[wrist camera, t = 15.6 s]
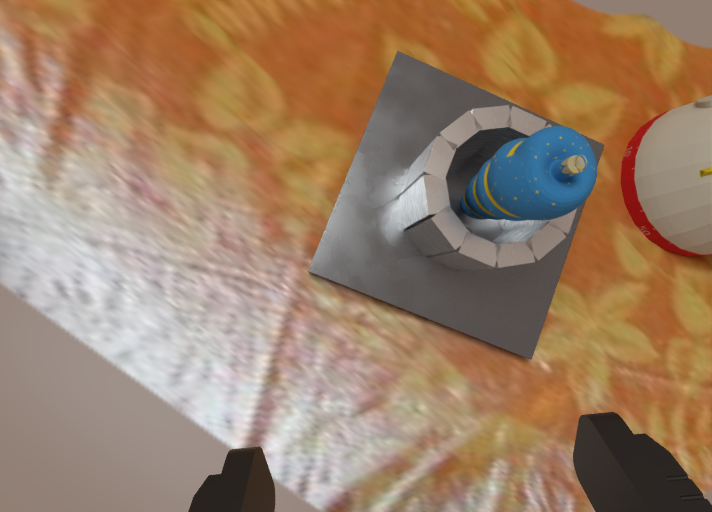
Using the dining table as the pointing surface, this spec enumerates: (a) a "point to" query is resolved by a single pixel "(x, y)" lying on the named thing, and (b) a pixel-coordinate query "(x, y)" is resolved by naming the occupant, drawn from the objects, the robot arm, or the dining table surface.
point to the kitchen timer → (672, 179)
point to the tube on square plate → (443, 213)
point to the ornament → (533, 178)
